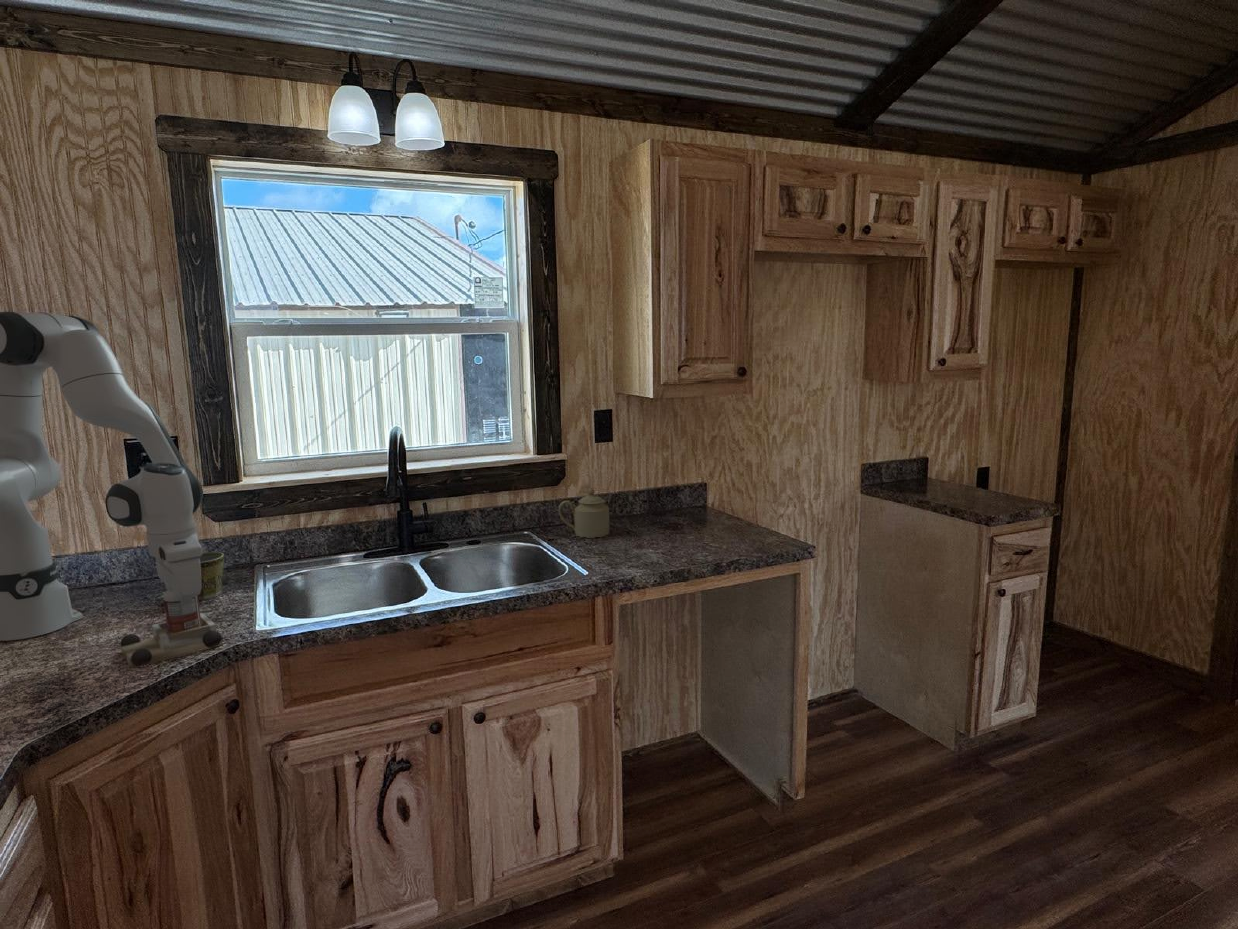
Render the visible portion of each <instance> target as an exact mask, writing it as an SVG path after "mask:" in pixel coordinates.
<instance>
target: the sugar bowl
mask: <svg viewBox="0 0 1238 929" xmlns="http://www.w3.org/2000/svg"><path fill="white" fill-rule="evenodd" d="M587 493H588V495H586V496H585V495H584V496H583V497H581V498H580V499H579V500H578V501H577V502H578V505H577V506H575V505H574V504H573V503H572V502H571V501H570V500H563V501H562V502H561V503H559V505H558V515H559V516H560V518H561V520H562V521H563V522H564V523H565V525H567V526H569V527H570V528H572V529H573V531H574V534H576V535H575V536H576V537H578V536H579V538H582V537H586V538H585V539H596V538H595V537H599V538H604V537H607V536H608V535H609V534H610V508H609V506H608V505H606V504H605V503H604V502H606V500H605V499H604V498H603V497H600V496H598V495H595V490H594V488H593V487H590V488H588V492H587ZM566 504H567V505H568V506H569V507H570V509H571V512H572V516H573V518H574V519H573V520H574V521H573V522H574V523H573V524H572V523H571V522H570V521H569V520H567V519H566V518H565V516H564V514H563V510H562V508H563V506H564V505H566ZM606 535H607V536H606Z"/></svg>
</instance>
